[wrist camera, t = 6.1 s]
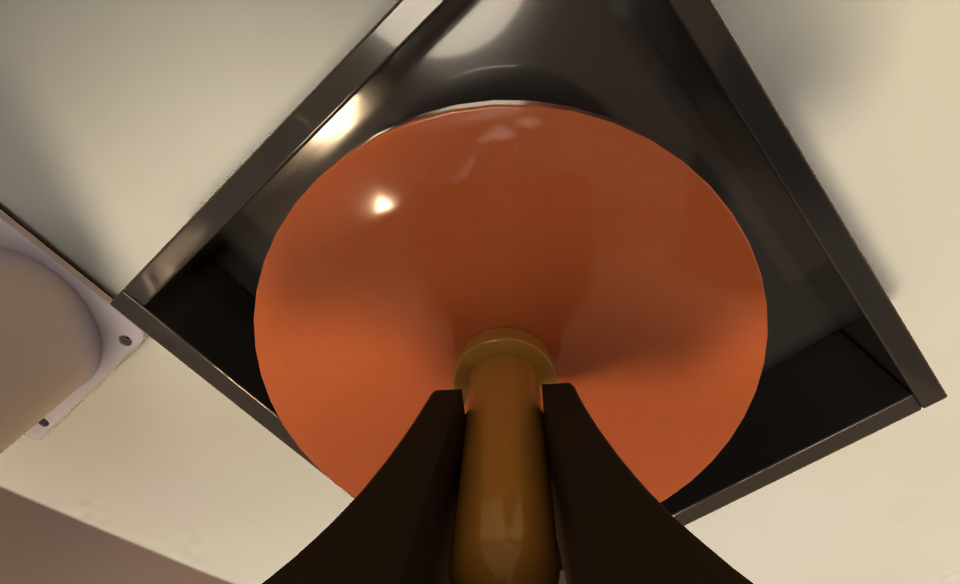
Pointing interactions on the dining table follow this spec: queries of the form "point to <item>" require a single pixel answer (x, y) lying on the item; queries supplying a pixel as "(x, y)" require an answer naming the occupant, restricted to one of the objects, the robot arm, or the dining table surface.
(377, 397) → the orange round pegged disc
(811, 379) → the tray
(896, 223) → the dining table surface
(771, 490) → the dining table surface
